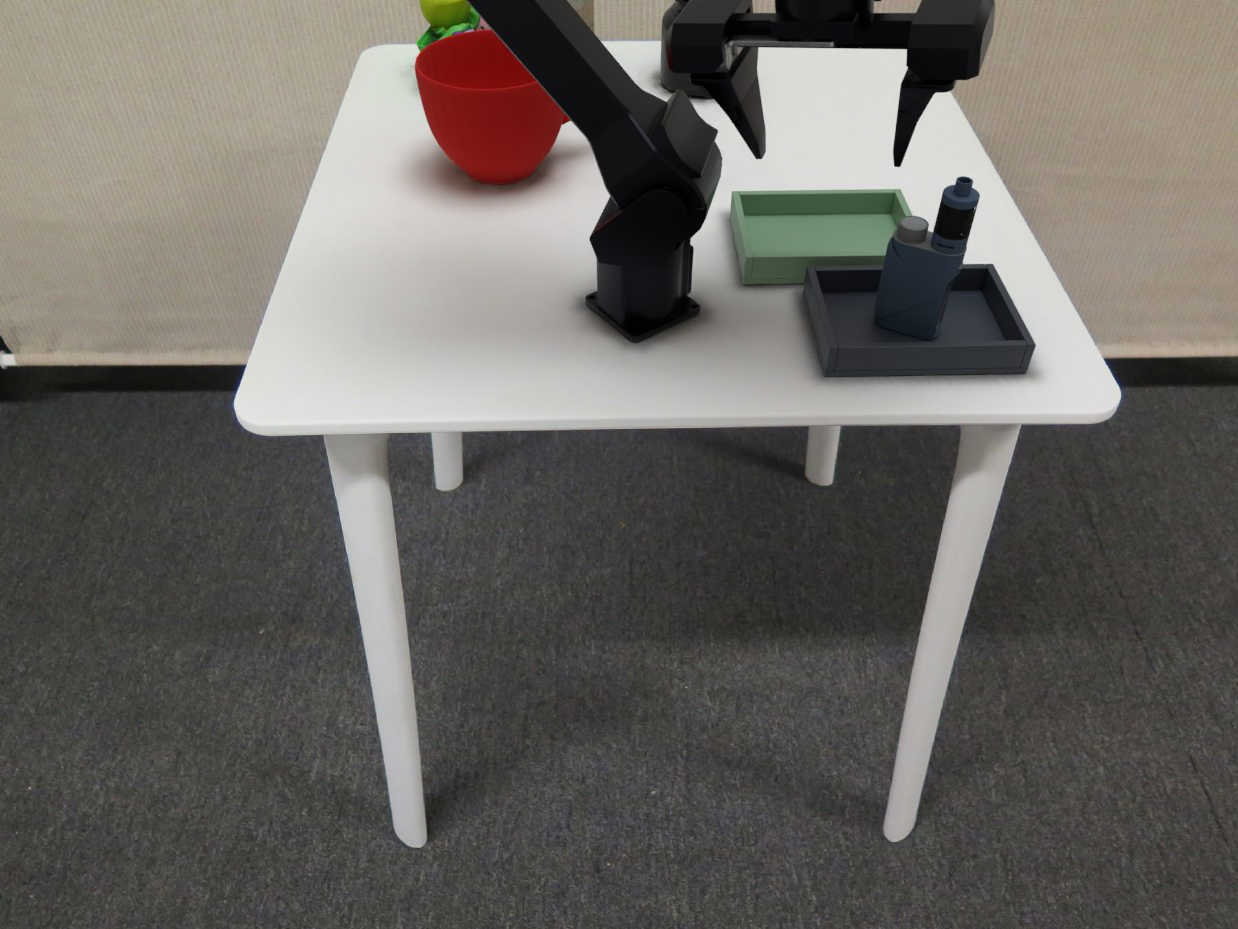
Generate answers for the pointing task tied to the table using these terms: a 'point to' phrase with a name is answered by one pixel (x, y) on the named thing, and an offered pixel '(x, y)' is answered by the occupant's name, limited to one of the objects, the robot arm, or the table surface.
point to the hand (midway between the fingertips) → (828, 159)
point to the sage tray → (811, 230)
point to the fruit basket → (448, 20)
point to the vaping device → (925, 264)
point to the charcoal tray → (967, 343)
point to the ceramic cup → (486, 107)
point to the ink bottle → (667, 76)
